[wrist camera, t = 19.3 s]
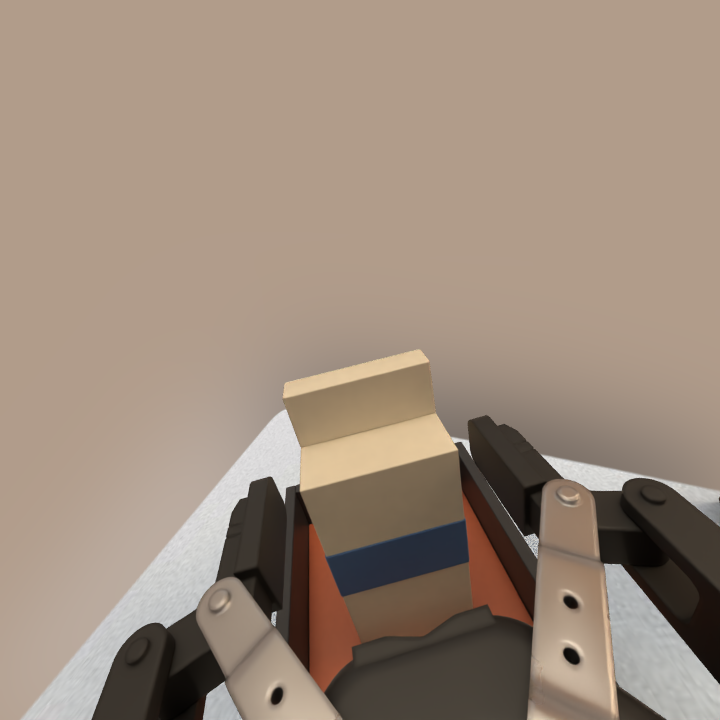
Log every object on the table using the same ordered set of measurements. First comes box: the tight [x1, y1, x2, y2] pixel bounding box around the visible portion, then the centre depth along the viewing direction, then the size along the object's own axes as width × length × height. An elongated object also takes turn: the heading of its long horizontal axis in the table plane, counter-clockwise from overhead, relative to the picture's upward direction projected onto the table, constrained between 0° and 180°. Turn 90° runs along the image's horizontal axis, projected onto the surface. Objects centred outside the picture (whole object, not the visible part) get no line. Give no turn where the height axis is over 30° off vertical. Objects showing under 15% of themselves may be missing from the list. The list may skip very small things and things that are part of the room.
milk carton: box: [283, 349, 473, 643], centre depth 16 cm, size 6×6×14 cm
